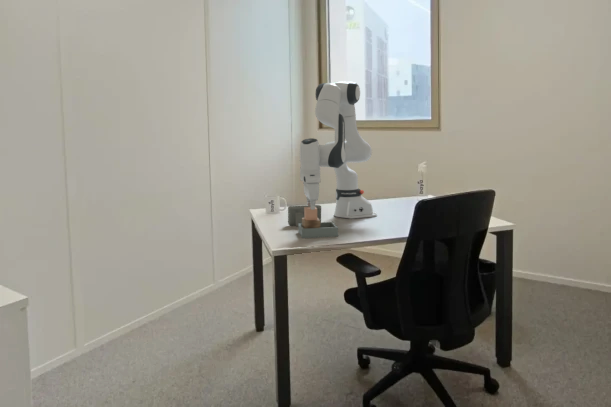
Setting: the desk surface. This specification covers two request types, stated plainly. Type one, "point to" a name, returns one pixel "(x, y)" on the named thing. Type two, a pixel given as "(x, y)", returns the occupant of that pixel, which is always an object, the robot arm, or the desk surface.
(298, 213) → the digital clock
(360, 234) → the desk surface
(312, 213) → the light cube
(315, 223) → the block
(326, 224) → the tote
